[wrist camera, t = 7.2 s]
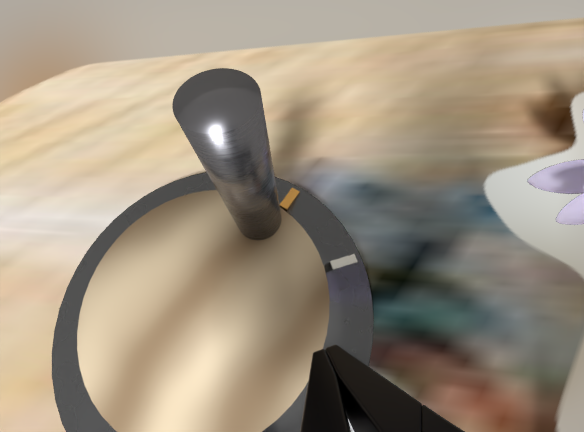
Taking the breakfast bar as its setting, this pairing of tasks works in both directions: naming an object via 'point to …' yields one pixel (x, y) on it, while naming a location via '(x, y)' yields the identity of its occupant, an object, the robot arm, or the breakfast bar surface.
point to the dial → (207, 287)
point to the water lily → (564, 187)
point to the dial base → (333, 252)
